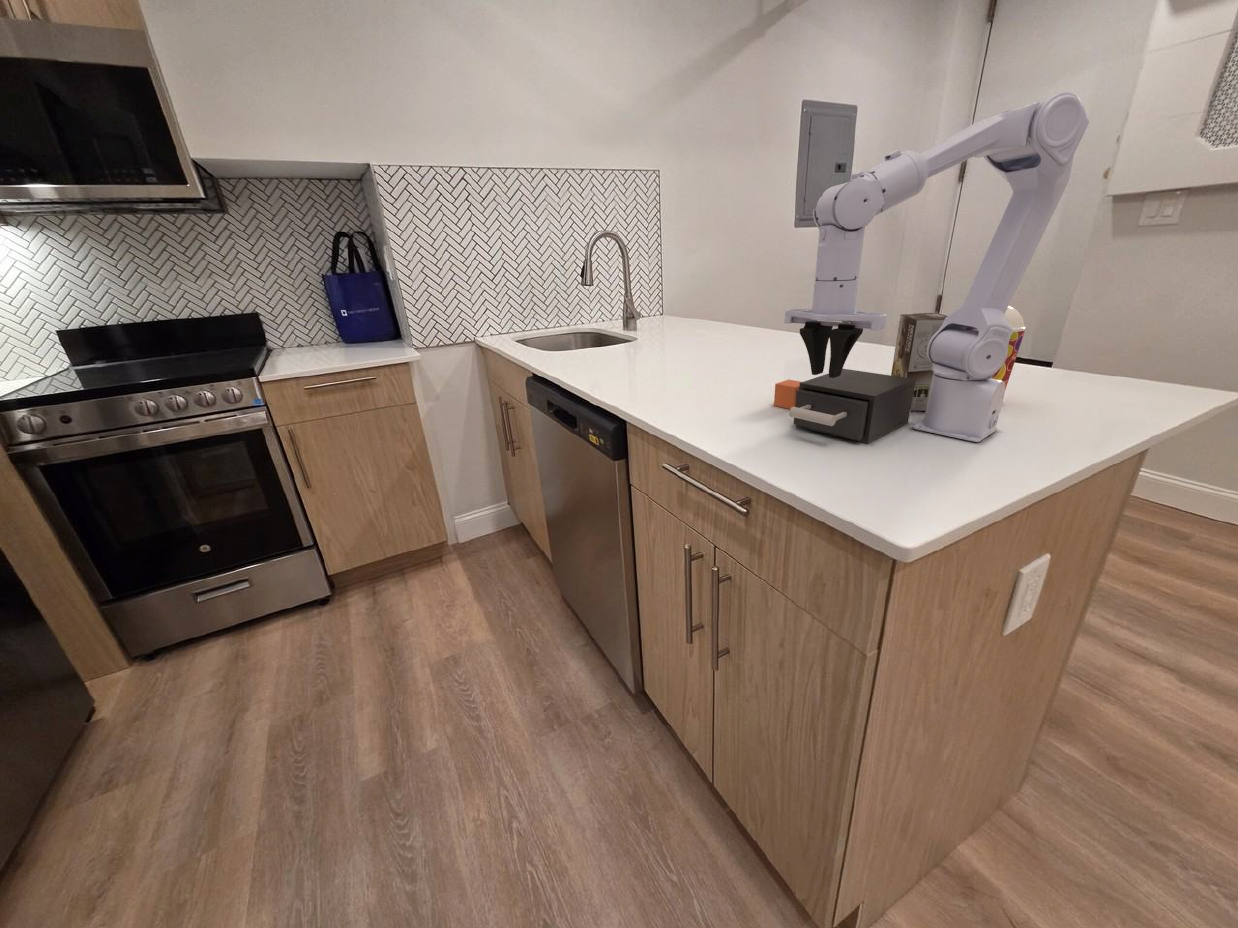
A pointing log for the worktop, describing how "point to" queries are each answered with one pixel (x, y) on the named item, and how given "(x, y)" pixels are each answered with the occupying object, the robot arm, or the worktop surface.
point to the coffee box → (916, 353)
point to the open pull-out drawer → (830, 413)
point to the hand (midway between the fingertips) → (825, 375)
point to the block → (786, 393)
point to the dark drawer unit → (870, 398)
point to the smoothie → (1011, 344)
